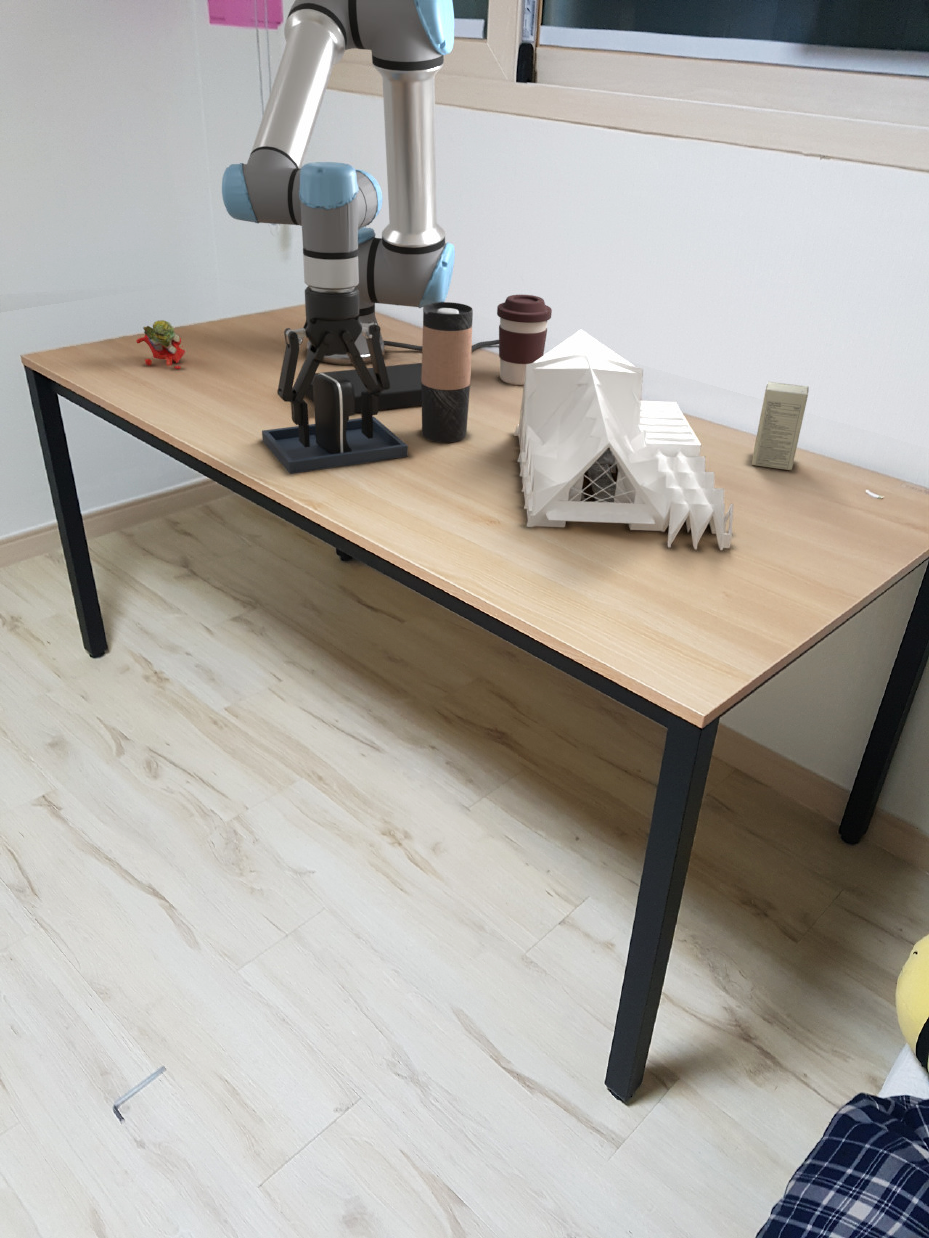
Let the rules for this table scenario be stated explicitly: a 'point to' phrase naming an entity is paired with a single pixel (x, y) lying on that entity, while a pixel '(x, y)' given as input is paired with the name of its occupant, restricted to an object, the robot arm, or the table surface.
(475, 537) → the table surface
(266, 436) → the tray
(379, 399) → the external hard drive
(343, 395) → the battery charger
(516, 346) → the coffee cup
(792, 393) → the cosmetic box
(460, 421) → the travel mug
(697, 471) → the white faceted model
